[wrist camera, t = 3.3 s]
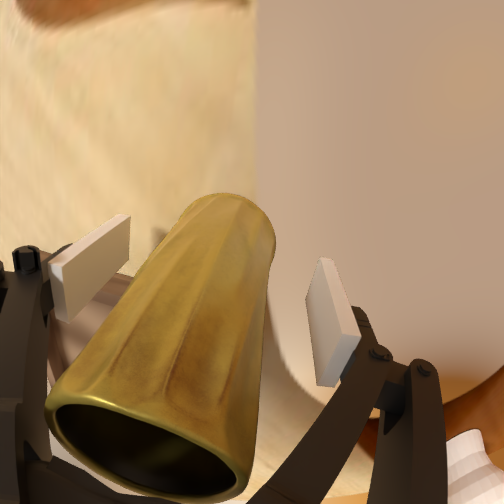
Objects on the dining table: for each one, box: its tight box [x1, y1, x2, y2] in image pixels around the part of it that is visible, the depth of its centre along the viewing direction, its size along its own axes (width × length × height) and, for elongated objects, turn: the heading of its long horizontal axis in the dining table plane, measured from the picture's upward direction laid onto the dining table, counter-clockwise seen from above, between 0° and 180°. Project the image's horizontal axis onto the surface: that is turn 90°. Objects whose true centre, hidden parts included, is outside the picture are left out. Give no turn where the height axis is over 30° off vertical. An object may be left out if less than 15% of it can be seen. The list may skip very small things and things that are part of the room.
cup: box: [446, 429, 504, 504], centre depth 21 cm, size 11×11×15 cm
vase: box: [44, 193, 276, 504], centre depth 12 cm, size 6×6×14 cm
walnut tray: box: [40, 250, 134, 388], centre depth 22 cm, size 16×16×2 cm
